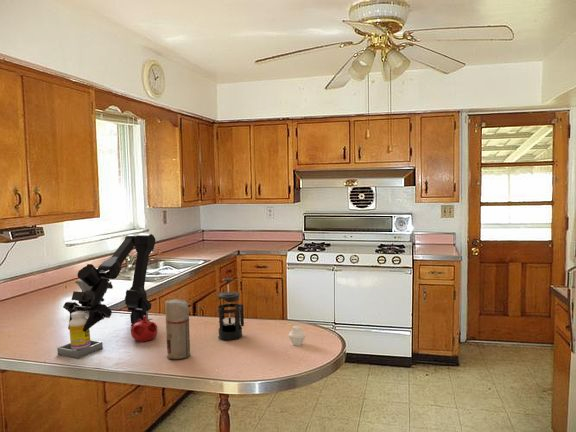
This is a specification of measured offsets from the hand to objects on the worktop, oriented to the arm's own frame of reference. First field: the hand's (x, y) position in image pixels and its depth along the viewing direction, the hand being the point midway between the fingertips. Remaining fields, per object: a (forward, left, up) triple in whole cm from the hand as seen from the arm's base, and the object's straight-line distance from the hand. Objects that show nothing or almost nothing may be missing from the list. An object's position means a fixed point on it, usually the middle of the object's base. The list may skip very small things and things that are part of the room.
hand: (76, 330), depth 172 cm
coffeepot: (+15, -59, -9) cm, 61 cm away
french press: (-55, -10, -9) cm, 57 cm away
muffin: (-80, +2, -9) cm, 81 cm away
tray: (0, -1, -8) cm, 8 cm away
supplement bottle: (-1, -1, -7) cm, 7 cm away
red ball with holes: (-21, -12, -9) cm, 26 cm away
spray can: (-38, +8, -9) cm, 40 cm away
